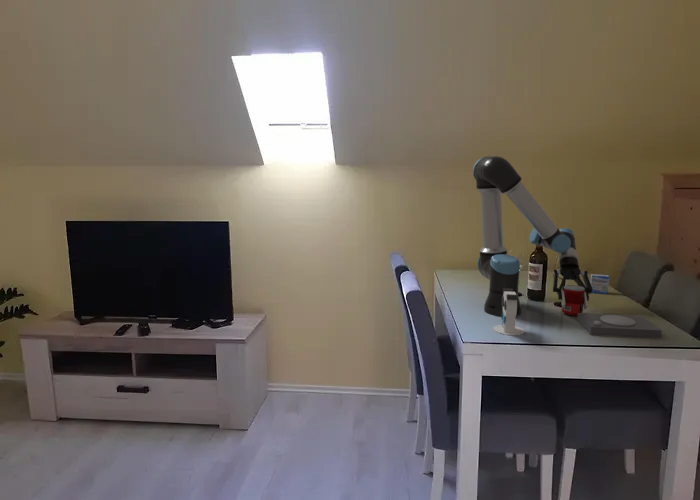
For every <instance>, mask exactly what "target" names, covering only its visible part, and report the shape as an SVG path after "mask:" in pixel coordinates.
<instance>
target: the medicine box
mask: <svg viewBox="0 0 700 500" xmlns="http://www.w3.org/2000/svg"><path fill="white" fill-rule="evenodd" d="M589 281H590V284H591V286H592V289H593V291H592V292H591V294H601V295H608V294H609V285H610V276H609V275H608V274H598V273H597V274H596V273H595V274H594V273H590V280H589Z"/></svg>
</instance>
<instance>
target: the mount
mask: <svg viewBox="0 0 700 500" xmlns="http://www.w3.org/2000/svg"><path fill="white" fill-rule="evenodd" d="M577 322H578V323H579V324H580V325H581V326H582V328H584V330H585V331H586V332H587V333H588V334H589V335H590V336H602V337H603V336H606V337H623V338H625V337H627V338H645V339H646V338H647V339H661V338H662V329H660V327H658V326H656V325H655V324H654V323H653V322H652V321H650V320H648V319H647V318H646V317H644V316H643V315H632V314H631V315H630V314H614V313H613V314H612V313H611V314H607V313H587V312H586V313H585V312H583V313H578V315H577Z"/></svg>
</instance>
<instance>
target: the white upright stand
mask: <svg viewBox="0 0 700 500" xmlns="http://www.w3.org/2000/svg"><path fill="white" fill-rule="evenodd" d="M502 307H503V312H502V316H501V320H502V321H501V322H502V324H498V325H497V324H496V325H494V326H493V327H492V330H494V331H493V332H495V333H496V332H498V333H497V334H499V333H501V334H500V335H503V334H506V336H521V335H523V334H525V330H524V328H522V327H520V326H517V325H516V318H517V315H516V313H517V295H516V293H515V292H513V289H505V288H504V289H503V296H502ZM520 334H521V335H520Z"/></svg>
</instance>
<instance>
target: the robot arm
mask: <svg viewBox="0 0 700 500" xmlns="http://www.w3.org/2000/svg"><path fill="white" fill-rule="evenodd" d="M472 175H473V178H474V180H475V182H476V190H477V191H478V192H479V193H480V211H481V216H480V217H481V232H482V233H481V234H482V247H481V248H480V249H479V257H478V260H477V268H478V271H479V273H480V274H481V275H482V276H483V277H484V278H486V279H487V280H489V288H488V289H489V291H488V292H489V293H488V295H487V297H486V300H485V302H484V305H483V311H484V312H486V313H488V314H491V315H494V316H499V317H502V312H503V307H502V296H503V289H504V288H505V289H513V292H515V293H516V295H517V313H516V316H519V315H521V314H522V304H521V301H520V297H519V285H520V284H519V283H520V270H521V266H520V265H521V264H520V263H521V262H520V260H519V259H518V258H517V257H516V256H515V255H510V254H508V249H507V248H506V247H505V246H504V238H503V213H502V208H503V207H502V194H504V195H506V197H508V198H509V199H510V201H511V202H512V204H514V206H515V207H516V208H517V209H518V211H519V212H520V213H521V214H522V216H523V217H524V218H525V219H526V220H527V222H528V223H529V224H530V225H531V227H532V230H531V232H530V234H529V242H530V243H531V244H533V245H536V246H541V247H543V248H546V249H549V250H551V251H553V252H555V253H557V254H558V263H559V264H558V265H559V270H557V269H554V270H553V272H552V275H553V284H552V285H553V286H552V292H554V293H556V294H557V297H558V300H559V301H560V302H561V309H562V308H564V307H565V297H564V291H563V289H564V286H565V283H566V281H570V280H571V281H574V282H575V283H576V285H577V286H581V287H584V288H585V293H584V303H583V310H587V308H588V306H589V303H588V301H589V300H590V296H589V295H591V294H592V293H591V292H592V291H593V289H592V286H591V284H590V281H591V280H590V278H589V275H588V274H589V272H588V271H587V270H584V271H583V270H582V271H581V269H580V266H579V265H580V264H579V261H578V258H579V257H578V253H577V247H576V237H575V233H574V231H573V230H572V229H570V228H567V227H565V228H563V227H562V228H558V226H556V224H555V222H554V221H553V220H552V219H551V218H550V216H549V215H548V214H547V212H545V211H546V210H544V209H543V207H542V206H541V205H540V203H538V201H537V200H536V198H534V196H533V195H532V194H531V193H530V191H529V190H528V189H527V188H526V186H525V185H524V184H523V182H522V180H523V179H522V177H521V175H520V174H519V173H518V172H517V170H516V169H515V168H514V166H513V165H512V164H511V163H510V162H509V161H508V160H507V159H505V158H504V157H502V156H497V155H496V156H492V155H490V156H484V157H481V158H479V159H478V160H477V161H476V162H475V164H474V165H473V168H472ZM580 275H581V276H580ZM559 276H562V280H561V282H560V284H559V286H558V281H559ZM581 277H582V279H583V280H582V279H581Z"/></svg>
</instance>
